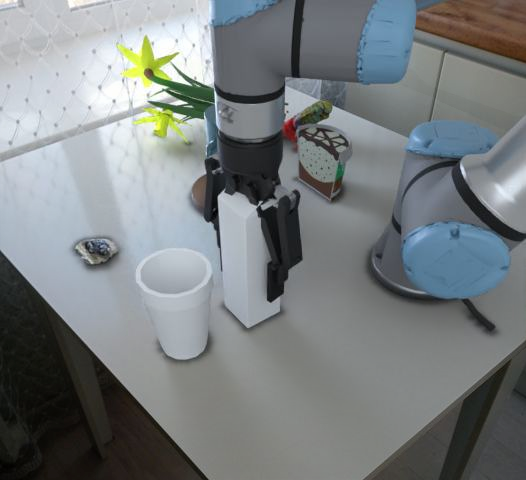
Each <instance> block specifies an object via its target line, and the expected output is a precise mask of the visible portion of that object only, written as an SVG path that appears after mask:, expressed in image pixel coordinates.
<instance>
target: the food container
mask: <svg viewBox="0 0 526 480" xmlns="http://www.w3.org/2000/svg"><path fill="white" fill-rule="evenodd" d="M297 136H298V140H297V144H298V150H297V180H298V181H300V182H302V183H303V184H305V185H306V186H307V187H309V188H311V189H312V190H314V191H315V192H316V193H318V194H319V195H320V196H322V197H323V198H325V199H326V200H327V201H329V202H332V201H334V200H336V199H337V198H338V197H339V195H340V192H341V189H342V184H343V180H344V174H345V170H346V166H347V162H348V161H350V159H352V156H353V145H352V143H353V142H352V140H351V137H350V136H349V134H348V133H347V132H346V131H344V130H343V129H340V128H339V127H336V126H333V125H329V124H323V123H317V124H307V125H302V126H299V127H298V129H297V130H296V135H295V137H297Z"/></svg>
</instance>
